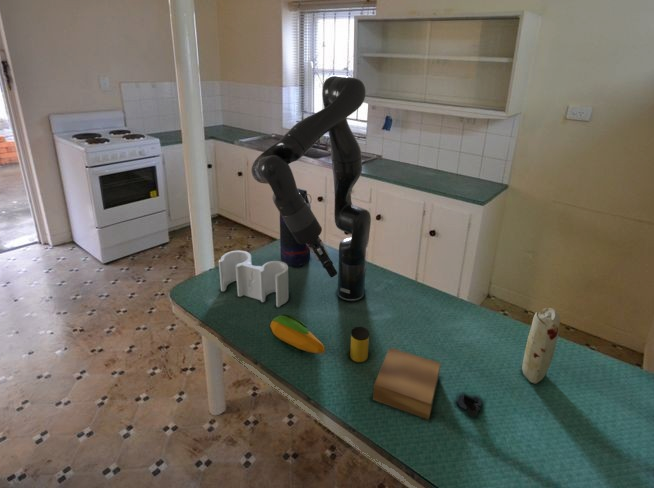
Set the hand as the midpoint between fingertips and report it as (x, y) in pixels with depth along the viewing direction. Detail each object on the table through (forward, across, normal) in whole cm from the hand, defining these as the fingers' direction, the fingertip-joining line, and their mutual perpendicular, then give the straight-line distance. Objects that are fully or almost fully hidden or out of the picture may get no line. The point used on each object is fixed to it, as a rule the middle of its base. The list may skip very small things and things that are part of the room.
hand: (329, 268), depth 111 cm
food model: (+48, -24, -32) cm, 63 cm away
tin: (+26, -5, +6) cm, 27 cm away
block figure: (+38, -28, -12) cm, 49 cm away
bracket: (+11, +33, +26) cm, 43 cm away
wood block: (+31, -19, -1) cm, 37 cm away
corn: (+18, +3, +19) cm, 27 cm away
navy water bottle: (+18, +51, +9) cm, 55 cm away
